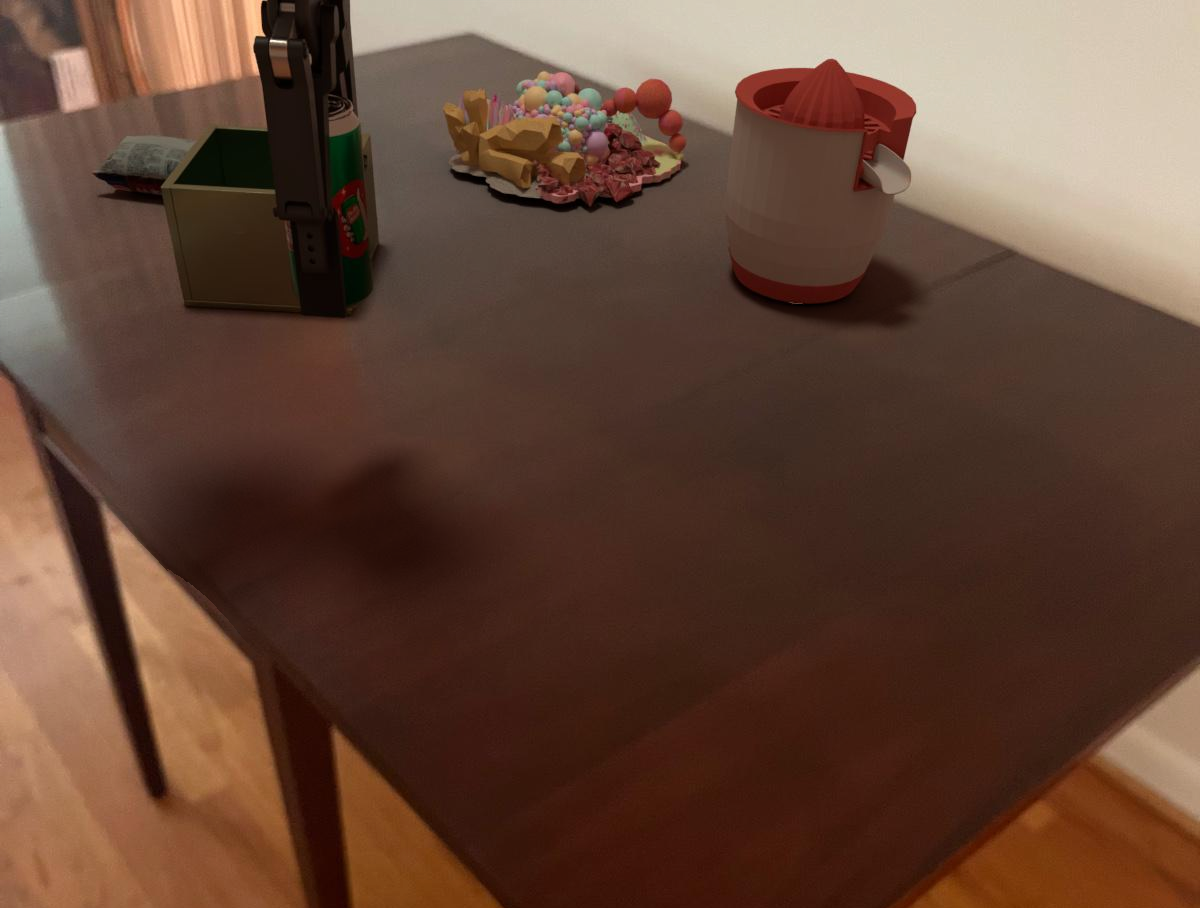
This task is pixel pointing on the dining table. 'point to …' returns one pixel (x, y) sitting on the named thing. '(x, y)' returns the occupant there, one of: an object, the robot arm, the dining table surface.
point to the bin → (236, 222)
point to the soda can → (346, 202)
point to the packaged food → (143, 162)
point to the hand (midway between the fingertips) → (333, 291)
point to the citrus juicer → (813, 178)
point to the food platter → (565, 139)
